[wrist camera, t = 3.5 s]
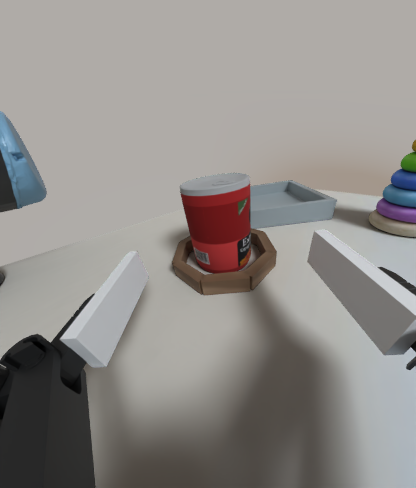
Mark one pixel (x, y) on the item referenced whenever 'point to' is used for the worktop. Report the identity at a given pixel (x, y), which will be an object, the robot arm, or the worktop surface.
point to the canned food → (219, 220)
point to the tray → (288, 204)
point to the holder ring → (229, 280)
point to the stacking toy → (399, 201)
